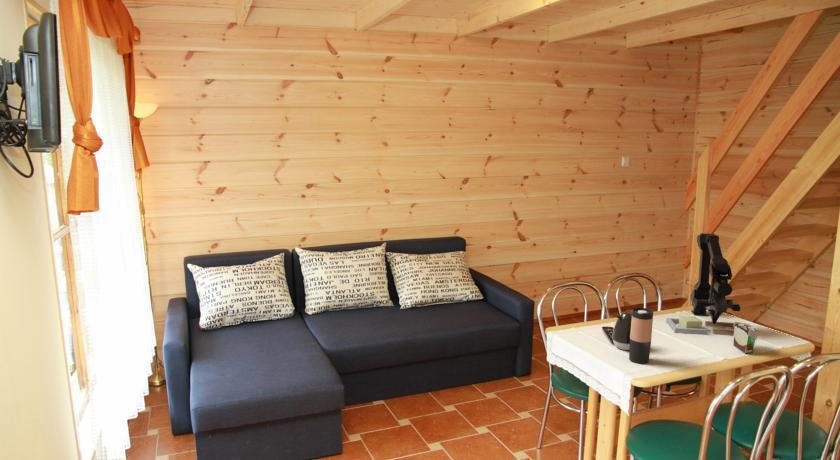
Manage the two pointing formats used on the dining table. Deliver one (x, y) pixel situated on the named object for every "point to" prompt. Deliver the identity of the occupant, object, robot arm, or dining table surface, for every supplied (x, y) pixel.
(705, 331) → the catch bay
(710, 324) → the walnut chute
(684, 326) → the olive block
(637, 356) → the travel mug
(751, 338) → the food container
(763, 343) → the dining table surface
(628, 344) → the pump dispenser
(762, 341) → the dining table surface
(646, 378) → the dining table surface
